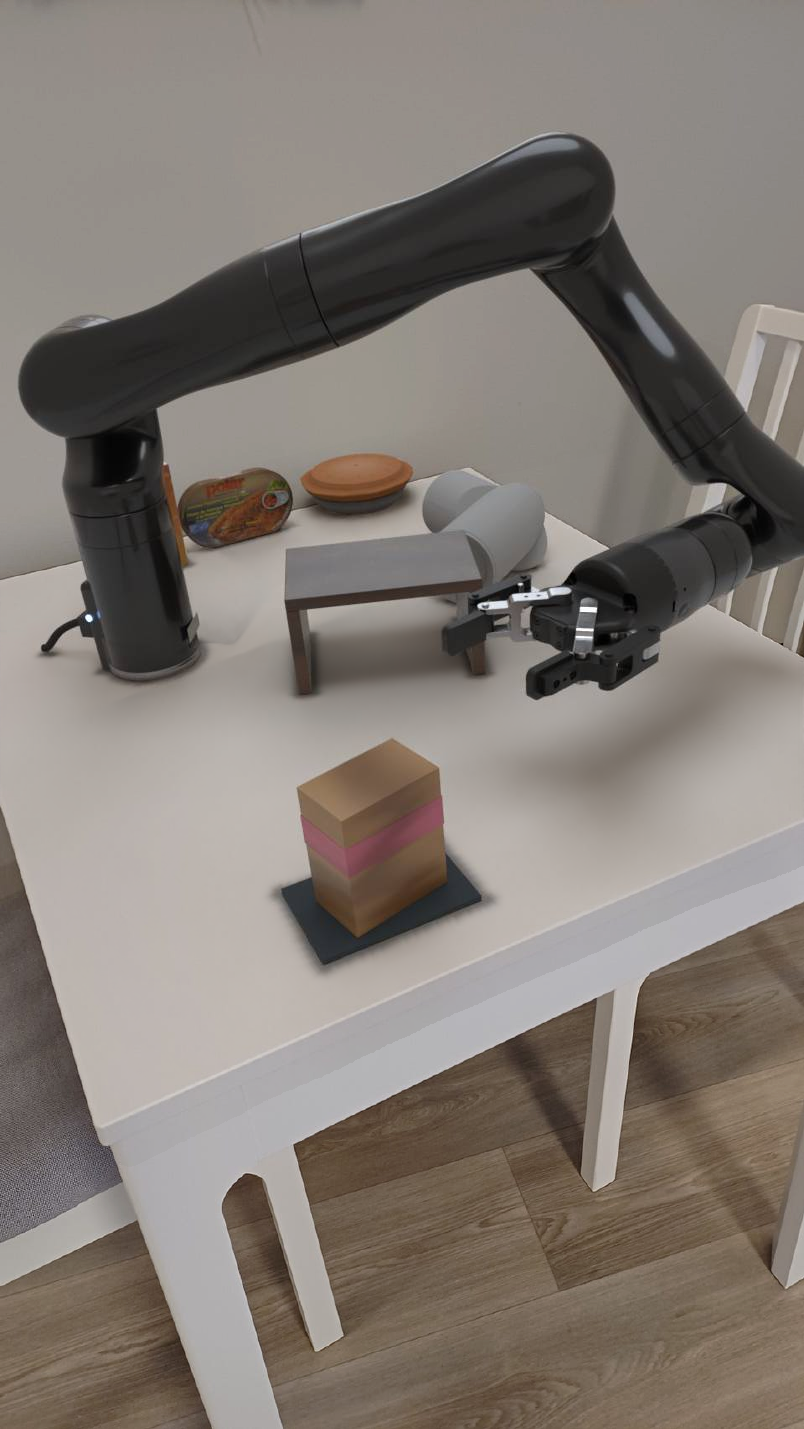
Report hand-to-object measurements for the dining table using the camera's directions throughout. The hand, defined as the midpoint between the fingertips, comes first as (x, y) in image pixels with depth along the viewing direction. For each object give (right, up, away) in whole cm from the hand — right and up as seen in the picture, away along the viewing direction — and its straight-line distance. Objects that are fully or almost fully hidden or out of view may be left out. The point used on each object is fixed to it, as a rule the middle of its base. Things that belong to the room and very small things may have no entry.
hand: (485, 663), depth 68 cm
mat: (-7, -16, +2) cm, 18 cm away
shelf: (-7, +3, +32) cm, 33 cm away
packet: (-7, -16, +2) cm, 18 cm away
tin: (-27, +20, +62) cm, 70 cm away
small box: (-37, +15, +56) cm, 69 cm away
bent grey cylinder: (+3, +13, +48) cm, 50 cm away
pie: (-12, +26, +70) cm, 75 cm away
